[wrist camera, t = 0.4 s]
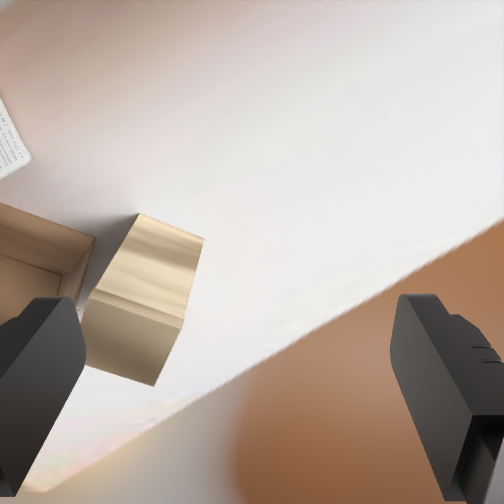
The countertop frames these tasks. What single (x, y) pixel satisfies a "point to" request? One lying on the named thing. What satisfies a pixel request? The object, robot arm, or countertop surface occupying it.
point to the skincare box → (10, 146)
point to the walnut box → (38, 260)
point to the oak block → (141, 301)
